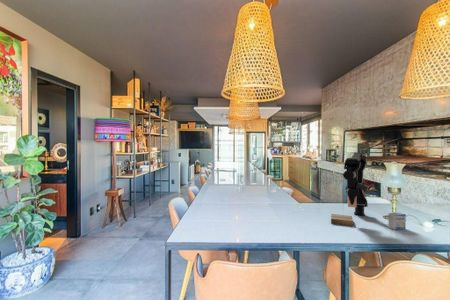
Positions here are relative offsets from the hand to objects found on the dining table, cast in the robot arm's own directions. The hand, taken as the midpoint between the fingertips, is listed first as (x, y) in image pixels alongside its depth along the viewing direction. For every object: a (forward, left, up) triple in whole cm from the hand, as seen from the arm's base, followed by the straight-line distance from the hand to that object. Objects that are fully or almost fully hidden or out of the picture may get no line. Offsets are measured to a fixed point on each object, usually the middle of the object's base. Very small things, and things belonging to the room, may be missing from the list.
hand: (351, 203), depth 149 cm
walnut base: (0, -6, -12) cm, 13 cm away
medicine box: (-1, +23, -12) cm, 27 cm away
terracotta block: (0, 0, -2) cm, 2 cm away
